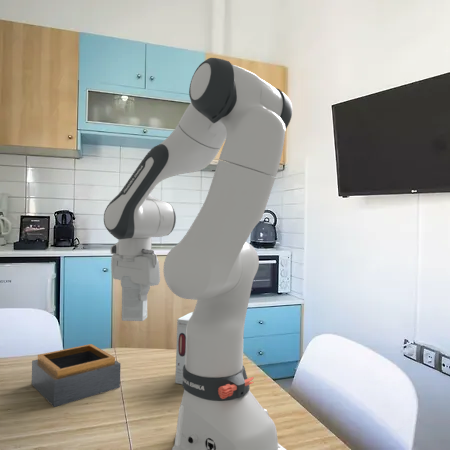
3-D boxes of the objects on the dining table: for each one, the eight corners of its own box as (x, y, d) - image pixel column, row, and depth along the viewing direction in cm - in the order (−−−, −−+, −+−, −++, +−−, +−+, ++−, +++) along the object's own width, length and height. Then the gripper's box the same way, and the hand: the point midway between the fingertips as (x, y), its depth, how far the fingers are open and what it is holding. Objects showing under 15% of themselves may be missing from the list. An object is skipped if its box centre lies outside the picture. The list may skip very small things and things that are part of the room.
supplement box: (174, 383, 98) (175, 318, 98) (188, 370, 107) (190, 311, 107) (208, 389, 95) (209, 322, 95) (220, 375, 104) (222, 314, 104)
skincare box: (147, 317, 106) (148, 275, 106) (142, 321, 102) (143, 277, 102) (126, 317, 107) (127, 274, 107) (120, 320, 102) (121, 276, 103)
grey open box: (119, 387, 95) (120, 357, 95) (54, 407, 84) (54, 373, 84) (88, 365, 109) (88, 339, 109) (27, 380, 98) (28, 351, 98)
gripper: (166, 249, 99) (165, 302, 99) (127, 246, 114) (126, 292, 114) (145, 250, 95) (144, 306, 95) (107, 247, 110) (107, 295, 109)
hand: (134, 298), depth 104 cm, fingers closed on skincare box, 7 cm apart
